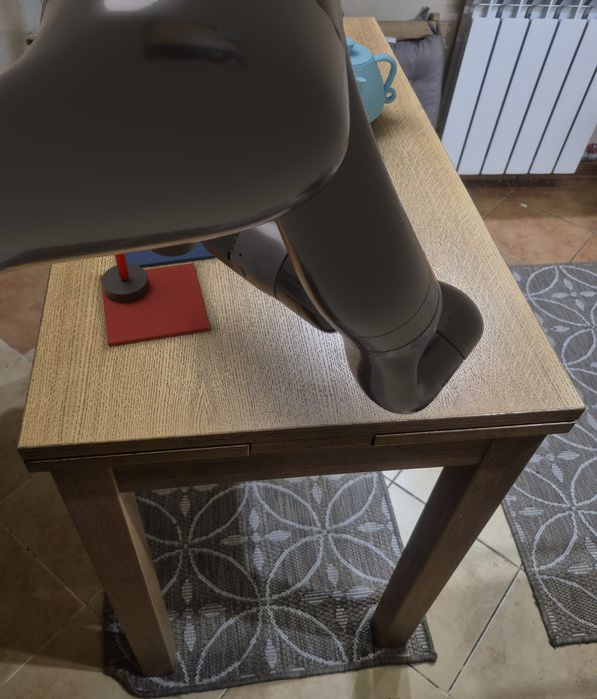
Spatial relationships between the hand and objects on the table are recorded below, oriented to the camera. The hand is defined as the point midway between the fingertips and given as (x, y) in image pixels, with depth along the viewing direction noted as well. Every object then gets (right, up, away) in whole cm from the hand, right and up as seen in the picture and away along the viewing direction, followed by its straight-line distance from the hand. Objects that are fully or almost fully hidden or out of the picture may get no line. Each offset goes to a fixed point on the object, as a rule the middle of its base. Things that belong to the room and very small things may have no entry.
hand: (146, 157), depth 61 cm
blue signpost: (+2, -7, +5) cm, 9 cm away
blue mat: (-4, -3, +25) cm, 25 cm away
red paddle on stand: (-7, -11, +17) cm, 21 cm away
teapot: (+22, +21, +49) cm, 58 cm away
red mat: (-3, -13, +16) cm, 21 cm away
